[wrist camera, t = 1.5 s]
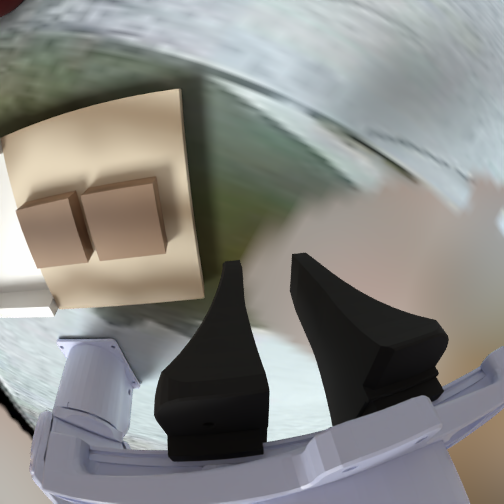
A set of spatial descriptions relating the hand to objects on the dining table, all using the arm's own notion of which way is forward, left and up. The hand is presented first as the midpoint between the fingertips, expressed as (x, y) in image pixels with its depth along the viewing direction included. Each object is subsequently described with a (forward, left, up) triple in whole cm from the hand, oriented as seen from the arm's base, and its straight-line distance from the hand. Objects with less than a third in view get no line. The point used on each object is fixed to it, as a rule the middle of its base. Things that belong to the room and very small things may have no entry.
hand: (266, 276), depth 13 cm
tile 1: (0, +8, -8) cm, 12 cm away
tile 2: (0, +14, -8) cm, 16 cm away
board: (0, +11, -10) cm, 15 cm away
